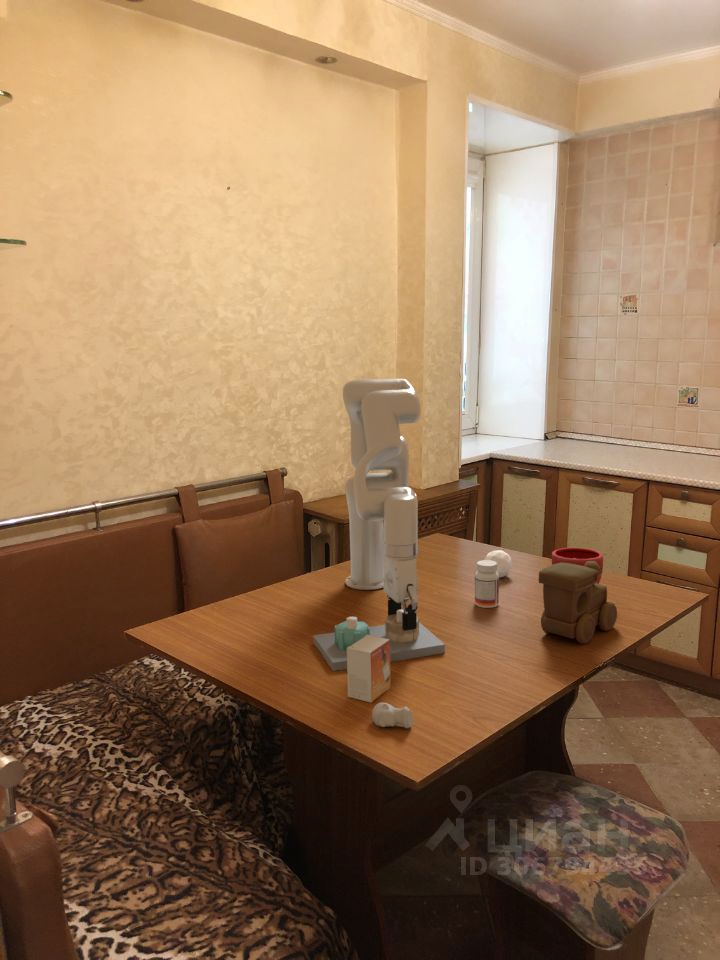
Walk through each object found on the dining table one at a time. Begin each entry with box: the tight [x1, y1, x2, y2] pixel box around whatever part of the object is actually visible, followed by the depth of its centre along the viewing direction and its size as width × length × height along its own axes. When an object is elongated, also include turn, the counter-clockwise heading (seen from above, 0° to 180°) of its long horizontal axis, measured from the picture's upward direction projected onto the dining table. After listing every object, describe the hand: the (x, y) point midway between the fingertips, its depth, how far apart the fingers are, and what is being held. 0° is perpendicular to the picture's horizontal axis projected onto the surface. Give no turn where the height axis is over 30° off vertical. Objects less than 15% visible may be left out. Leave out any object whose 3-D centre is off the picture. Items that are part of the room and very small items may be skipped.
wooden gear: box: [384, 614, 420, 643], centre depth 182 cm, size 7×8×4 cm
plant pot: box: [551, 547, 604, 584], centre depth 210 cm, size 13×13×12 cm
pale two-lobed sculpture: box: [371, 701, 414, 729], centre depth 146 cm, size 4×8×5 cm
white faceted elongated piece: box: [484, 549, 513, 578], centre depth 230 cm, size 8×8×12 cm
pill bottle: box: [474, 559, 500, 609], centre depth 206 cm, size 6×6×11 cm
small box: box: [346, 635, 392, 703], centre depth 158 cm, size 8×6×10 cm
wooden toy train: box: [538, 561, 618, 645], centre depth 185 cm, size 20×11×17 cm, turn 135°
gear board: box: [312, 608, 446, 672], centre depth 180 cm, size 16×26×8 cm, turn 109°
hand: (401, 622), depth 181 cm, fingers open, 8 cm apart
